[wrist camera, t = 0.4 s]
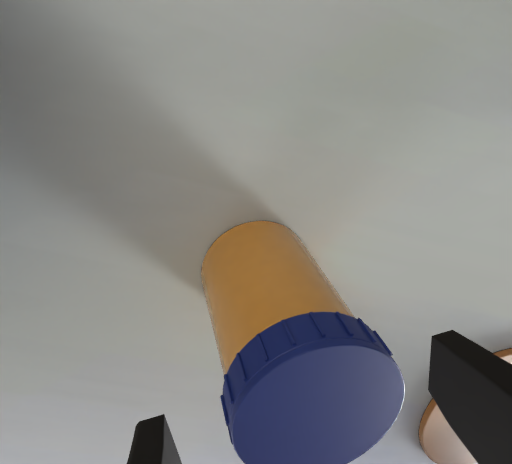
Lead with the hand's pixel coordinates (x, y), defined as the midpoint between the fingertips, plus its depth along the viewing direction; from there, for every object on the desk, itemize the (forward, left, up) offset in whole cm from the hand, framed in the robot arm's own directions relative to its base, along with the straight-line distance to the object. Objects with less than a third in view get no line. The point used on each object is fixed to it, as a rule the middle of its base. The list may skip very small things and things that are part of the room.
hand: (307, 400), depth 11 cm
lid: (-1, +2, -1) cm, 3 cm away
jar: (-1, +2, -10) cm, 10 cm away
